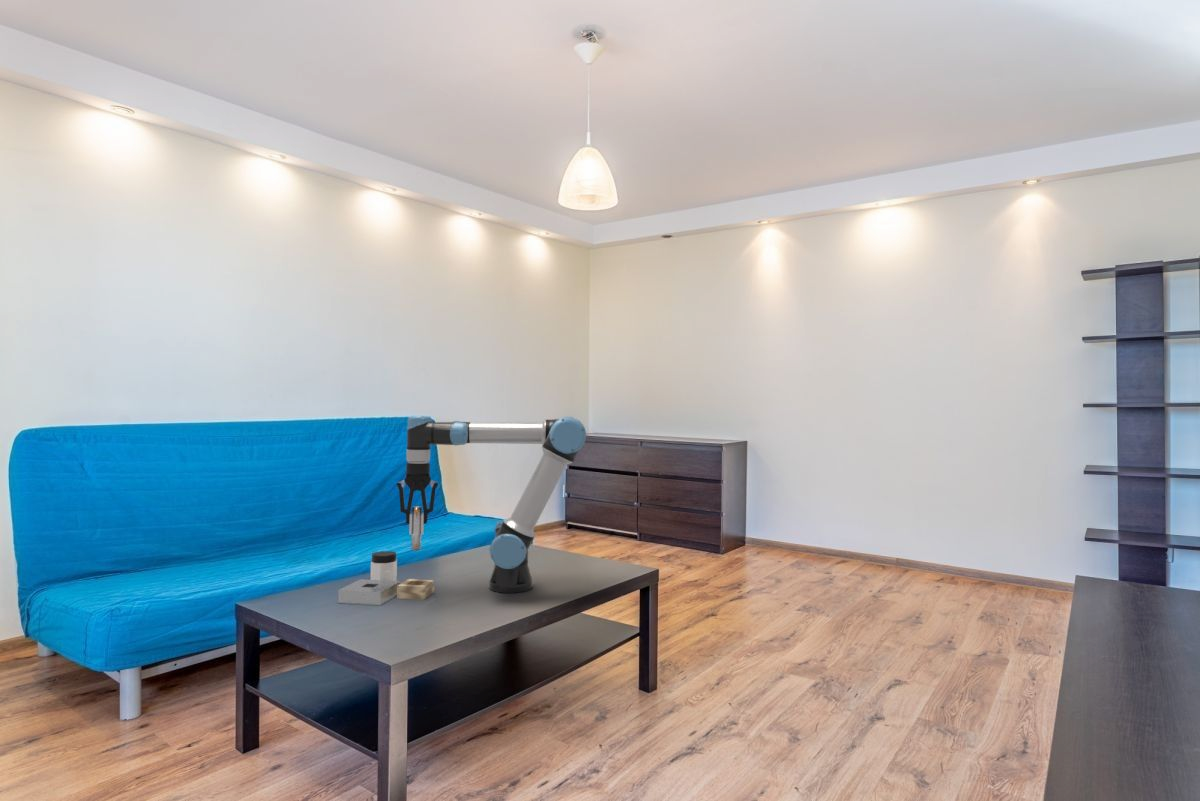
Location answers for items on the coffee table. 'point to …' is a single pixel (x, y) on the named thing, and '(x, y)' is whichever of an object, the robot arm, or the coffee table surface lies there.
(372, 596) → the block
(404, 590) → the holder
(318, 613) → the coffee table surface
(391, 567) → the jar
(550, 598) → the coffee table surface
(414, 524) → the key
